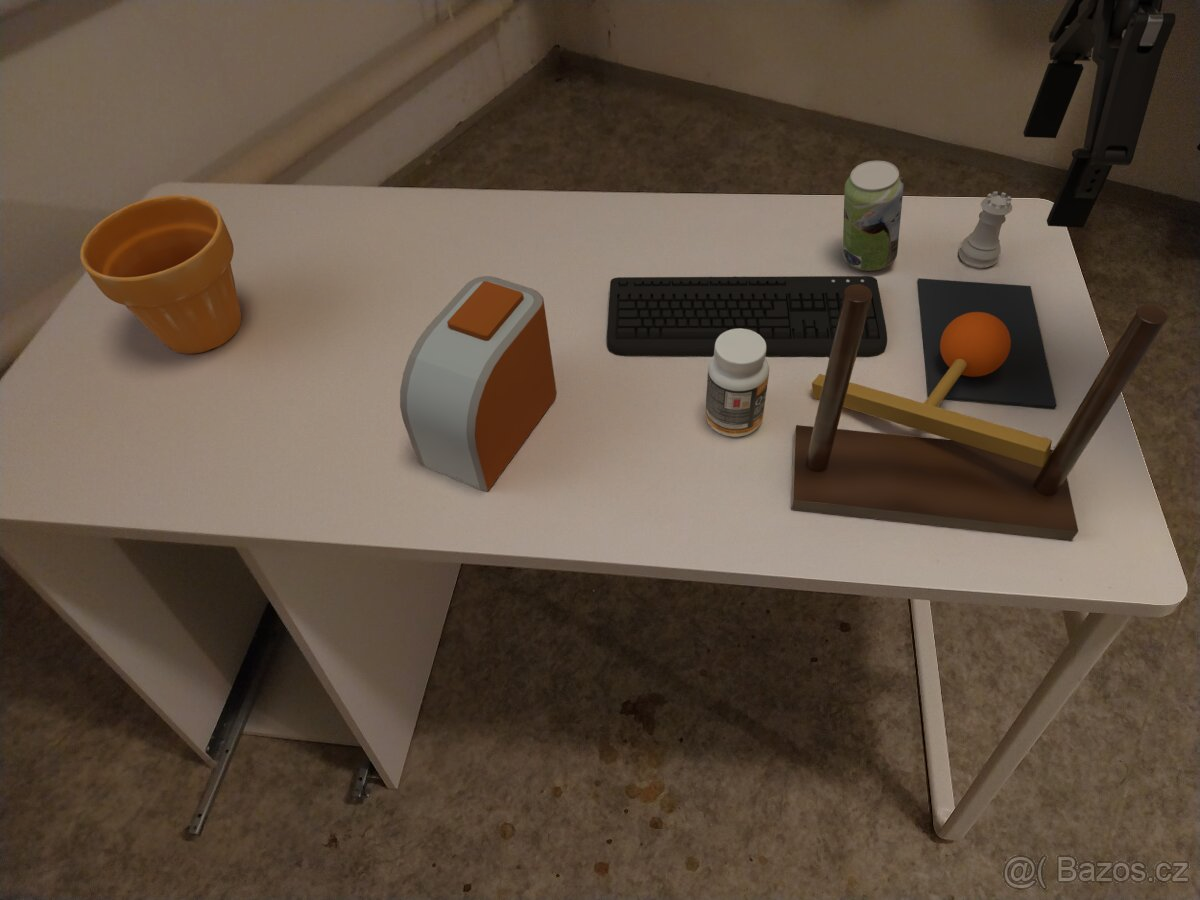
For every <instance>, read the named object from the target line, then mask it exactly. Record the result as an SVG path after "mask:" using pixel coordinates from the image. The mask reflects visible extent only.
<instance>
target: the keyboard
mask: <svg viewBox="0 0 1200 900" xmlns="http://www.w3.org/2000/svg"><path fill="white" fill-rule="evenodd" d="M609 281H610V282H609V283H610V284H609V295H608V312H607V326H606V348H607V349H608V352H610V353H612V354H613V355H615V356H621V357H713V355H714V349H715V343H716V340H717V338H718V337H719V336H720V335H721V334H722V333H724V332H726V331H728V330H731V329H740V328H741V329H748V330H751V331H754V332H756V333H758V334H759V335H760V336H761V337H762V338H763V339H764V341H765V343H766V357H774V358H776V357H777V358H780V357H783V358H785V357H791V358H792V357H793V358H798V357H799V358H801V357H802V358H803V357H808V358H811V357H813V358H815V357H816V358H817V357H818V358H819V357H821V358H822V357H828V358H829V357H830V353H831V348H832V344H833V339H834V335H835V331H836V326H837V322H838V317H839V313H840V309H841V304H842V300H843V295H844V291H845V289H846V288H847V287H848V286H850V285H856V284H858V285H863V286H866V287H867V288H869V289H870V290H871V292H872V298H871V302H870V306H869V310H868V314H867V317H866V321H865V325H864V329H863V333H862V336H861V340H860V344H859V348H858V352H857V355H856V358H861V357H862V358H871V357H877V356H879V355H882V354H883V353H885V351H886V349H887V346H888V331H887V326H886V325H887V324H886V320H885V314H884V310H883V306H882V304H883V303H882V299H881V293H880V288H879V283H878V279H877V277H874V276H872V275H871V276H870V275H830V276H829V275H828V276H827V275H823V276H822V275H821V276H820V275H818V276H817V275H816V276H812V275H811V276H807V275H806V276H805V275H803V276H799V275H798V276H795V275H794V276H791V275H790V276H653V277H652V276H629V277H628V276H627V277H626V276H620V277H619V276H618V277H613V278H612V279H610V280H609ZM766 357H765V358H766Z"/></svg>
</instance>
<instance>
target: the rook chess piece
mask: <svg viewBox="0 0 1200 900" xmlns="http://www.w3.org/2000/svg"><path fill="white" fill-rule="evenodd" d="M998 194H999V193H998V191H992V193H990V192H989V193H988V194H987V195H986V197H985V198H983V199H982V200H981V202H980V207H981V209H982V211H980V213H979V214H978V222H977V223H976V225H975V228H974V229H973V231H972V232H971V233H969V234H968V236H966V237H965V238H964V239H963V241H962V242H961V246H959V248H958V256H959V258H960V260H961V262H962V263H964V264H965V265H967V266H968V267H972V268H975V269H986V268H989V267H992V266H993V265H995V264H996V263H997V262H998V261H999V259H1000V255H1001V249H1002V247H1001V244H1000V242H1001V240H1000V233H1001V229H1002V226H1003V224H1004V223H1005V222H1006V220H1007V219H1006V218H1007V217H1006V215H1008V214H1010V213H1011V212H1012V211H1013V204H1012V197H1011V196H1010V195H1008V196H1007V193H1006V192H1004V191H1003V192H1001V194H1000V195H998Z"/></svg>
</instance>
